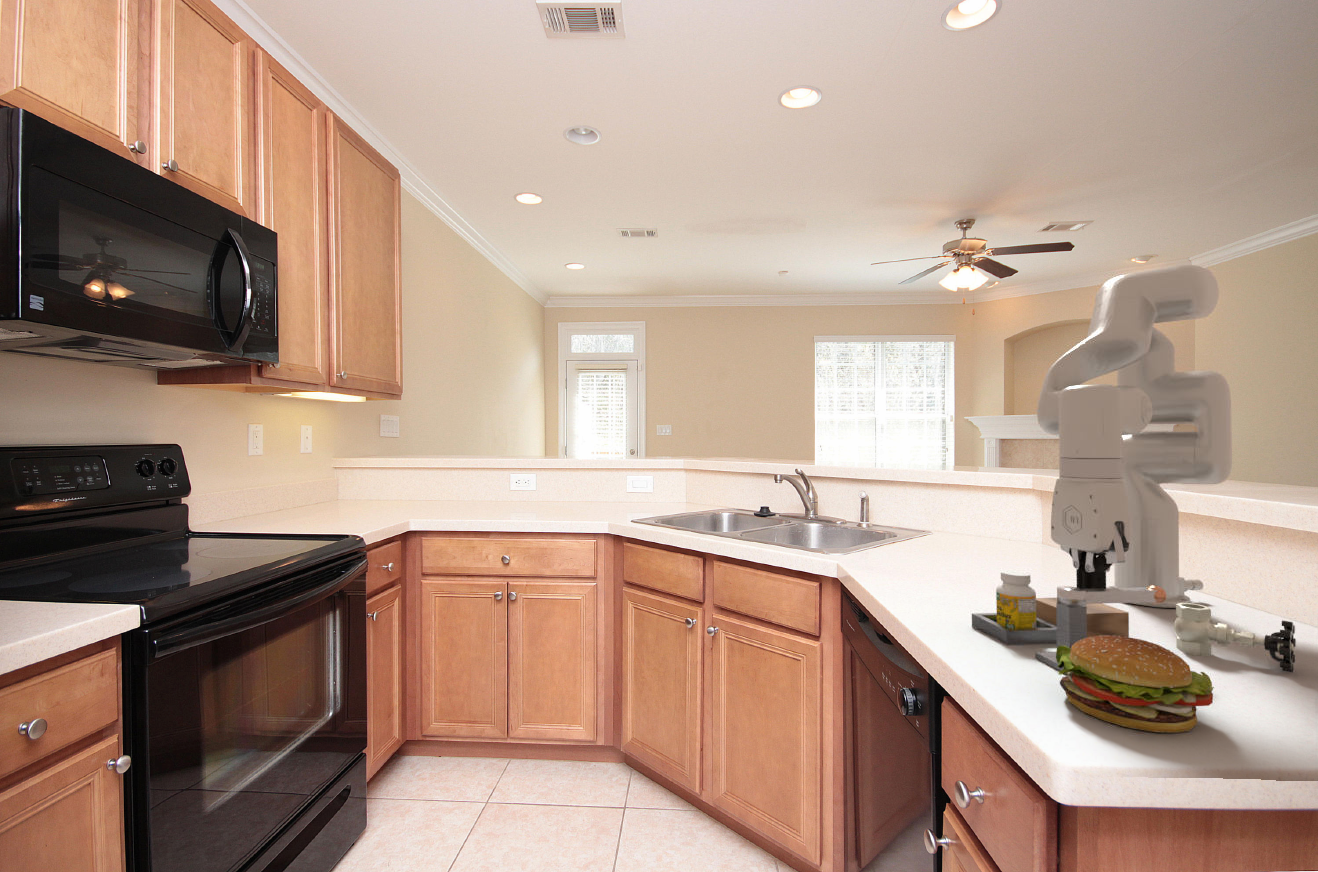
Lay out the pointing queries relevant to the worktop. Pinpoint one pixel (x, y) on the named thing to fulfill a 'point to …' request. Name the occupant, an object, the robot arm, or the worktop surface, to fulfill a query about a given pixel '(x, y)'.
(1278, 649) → the valve
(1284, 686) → the worktop surface
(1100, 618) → the walnut block
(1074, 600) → the handle
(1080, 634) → the grey upright pillar
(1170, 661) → the food
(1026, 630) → the shallow grey tray
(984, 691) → the worktop surface
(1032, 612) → the supplement bottle
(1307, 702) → the worktop surface
